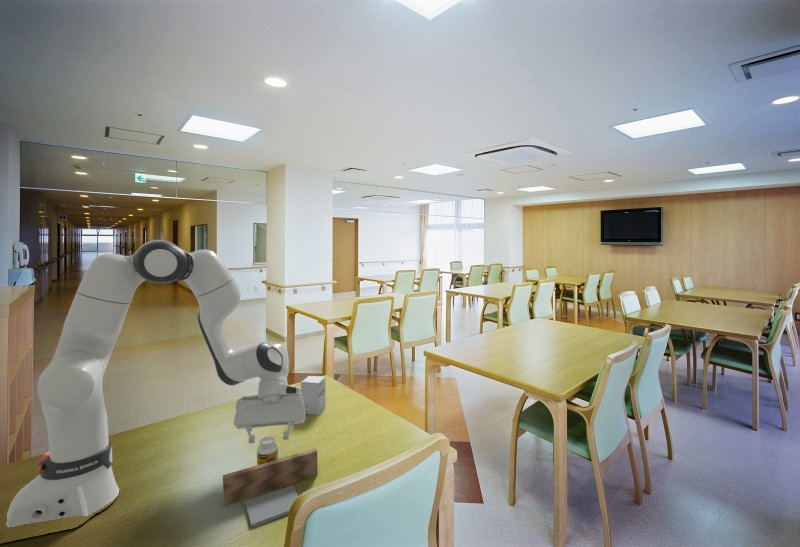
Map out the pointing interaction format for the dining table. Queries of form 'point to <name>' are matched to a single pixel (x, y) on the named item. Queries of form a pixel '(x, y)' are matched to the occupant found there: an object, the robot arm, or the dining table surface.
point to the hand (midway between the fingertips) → (268, 440)
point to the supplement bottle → (267, 450)
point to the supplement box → (313, 394)
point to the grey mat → (270, 505)
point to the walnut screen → (269, 476)
